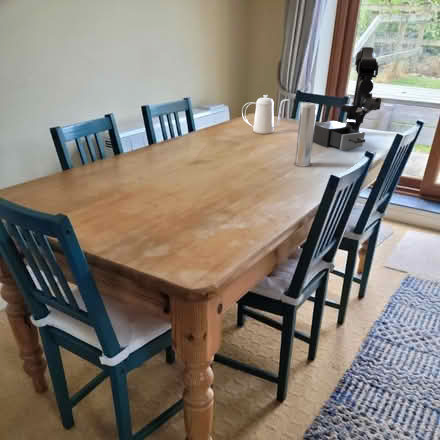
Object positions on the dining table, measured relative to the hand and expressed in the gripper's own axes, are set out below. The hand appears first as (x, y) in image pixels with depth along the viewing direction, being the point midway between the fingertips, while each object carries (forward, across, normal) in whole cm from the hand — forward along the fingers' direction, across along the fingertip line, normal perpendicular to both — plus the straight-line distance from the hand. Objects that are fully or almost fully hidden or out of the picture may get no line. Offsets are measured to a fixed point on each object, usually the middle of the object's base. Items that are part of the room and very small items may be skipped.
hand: (357, 126), depth 211 cm
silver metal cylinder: (+11, -35, -6) cm, 37 cm away
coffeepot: (+12, -18, +51) cm, 55 cm away
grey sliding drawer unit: (+11, 0, +18) cm, 21 cm away
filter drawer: (+10, 0, +5) cm, 12 cm away
